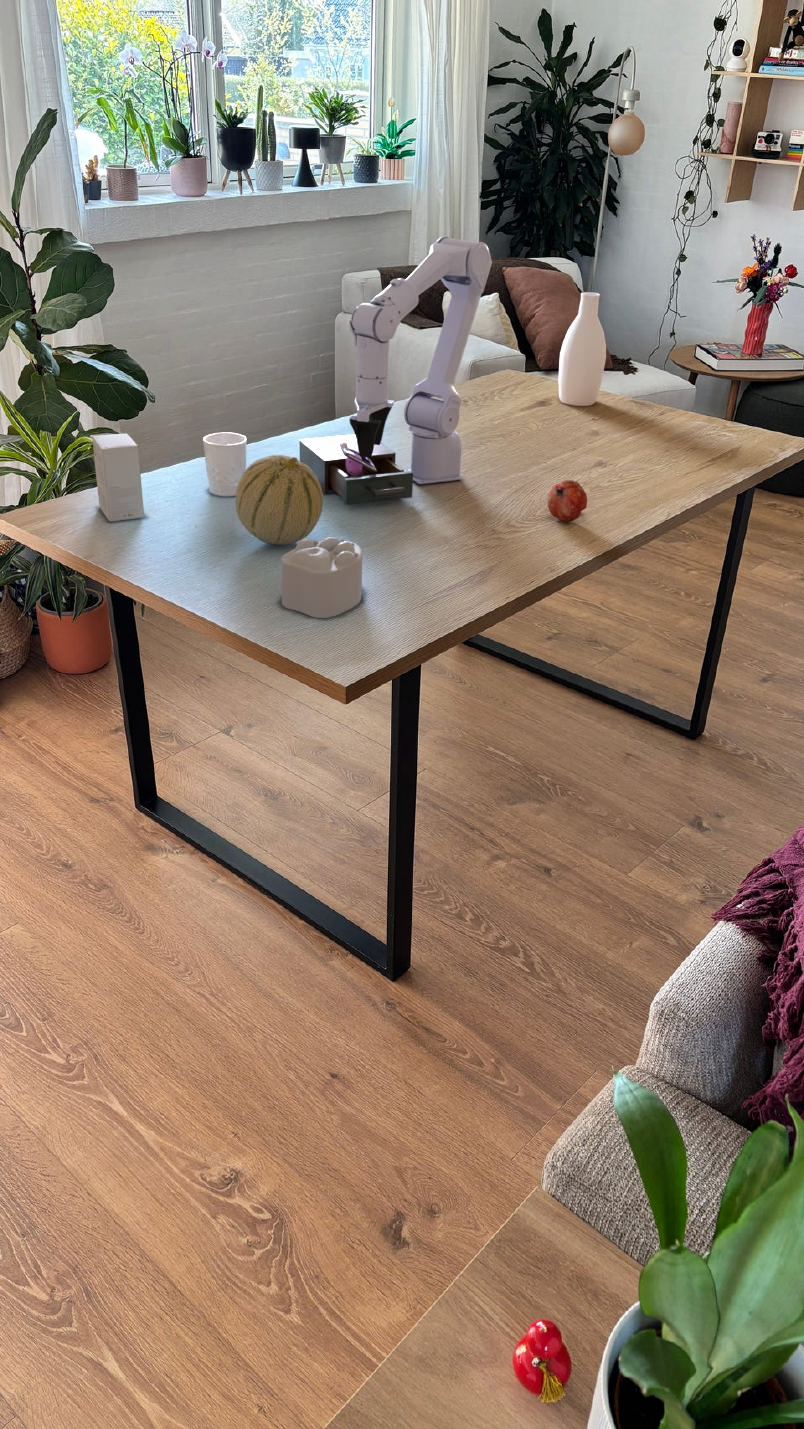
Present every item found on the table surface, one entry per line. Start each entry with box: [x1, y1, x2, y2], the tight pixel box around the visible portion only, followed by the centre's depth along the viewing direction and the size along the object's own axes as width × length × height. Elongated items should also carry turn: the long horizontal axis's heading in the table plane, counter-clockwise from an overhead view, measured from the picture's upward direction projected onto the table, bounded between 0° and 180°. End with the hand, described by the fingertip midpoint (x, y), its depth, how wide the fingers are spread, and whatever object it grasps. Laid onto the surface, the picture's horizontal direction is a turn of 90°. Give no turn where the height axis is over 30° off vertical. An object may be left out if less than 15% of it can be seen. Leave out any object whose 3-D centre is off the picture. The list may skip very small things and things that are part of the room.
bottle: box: [558, 291, 607, 407], centre depth 264 cm, size 11×11×25 cm
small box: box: [91, 433, 145, 522], centre depth 191 cm, size 8×6×13 cm
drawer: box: [328, 458, 414, 506], centre depth 203 cm, size 17×13×5 cm
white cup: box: [202, 432, 247, 497], centre depth 203 cm, size 8×8×10 cm
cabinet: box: [298, 433, 397, 495], centre depth 212 cm, size 14×15×7 cm
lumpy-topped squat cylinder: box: [280, 536, 363, 619], centre depth 164 cm, size 10×13×9 cm
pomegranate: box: [546, 479, 588, 523], centre depth 198 cm, size 7×7×10 cm
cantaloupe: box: [234, 454, 324, 546], centre depth 181 cm, size 15×15×15 cm
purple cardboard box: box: [339, 442, 377, 477], centre depth 202 cm, size 7×5×9 cm
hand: (370, 450), depth 201 cm, fingers open, 7 cm apart
